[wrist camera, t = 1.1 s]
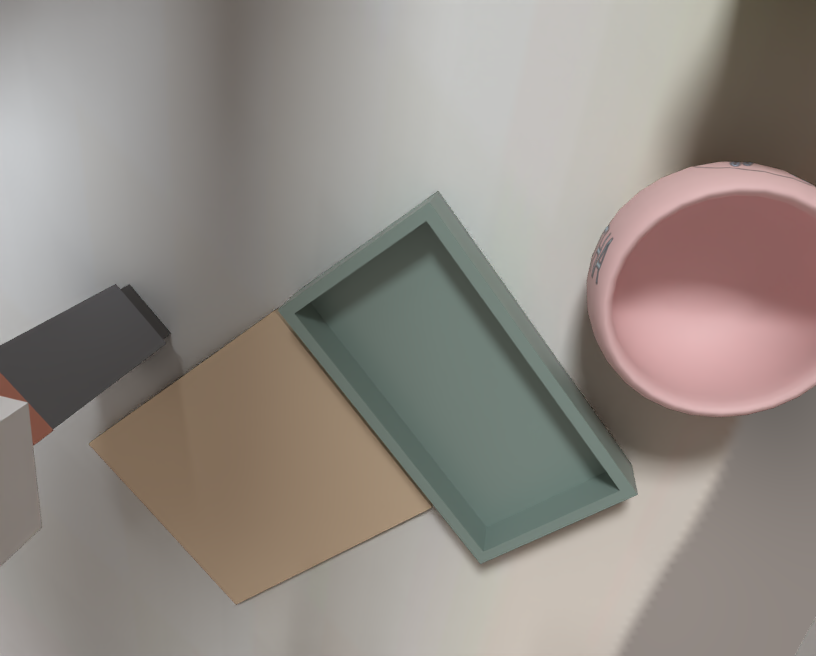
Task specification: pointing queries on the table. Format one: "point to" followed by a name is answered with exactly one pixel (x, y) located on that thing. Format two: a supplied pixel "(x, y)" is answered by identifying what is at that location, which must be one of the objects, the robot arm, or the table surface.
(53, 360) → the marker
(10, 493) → the robot arm
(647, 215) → the mug
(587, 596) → the table surface
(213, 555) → the tan board
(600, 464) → the tray
